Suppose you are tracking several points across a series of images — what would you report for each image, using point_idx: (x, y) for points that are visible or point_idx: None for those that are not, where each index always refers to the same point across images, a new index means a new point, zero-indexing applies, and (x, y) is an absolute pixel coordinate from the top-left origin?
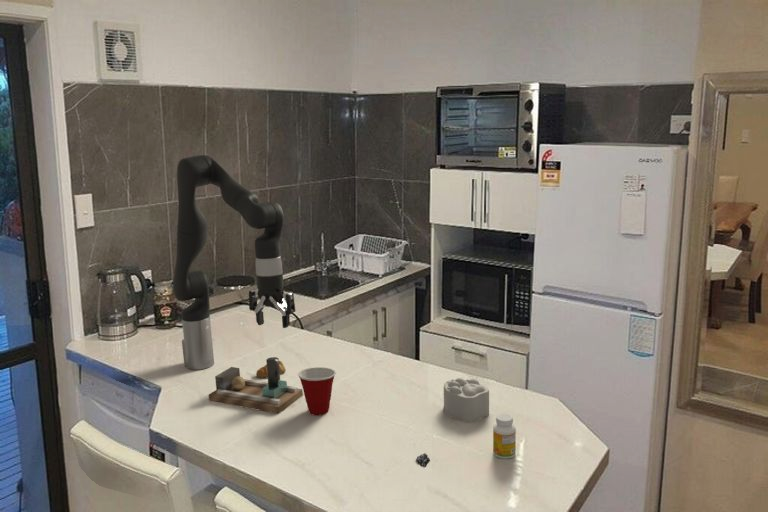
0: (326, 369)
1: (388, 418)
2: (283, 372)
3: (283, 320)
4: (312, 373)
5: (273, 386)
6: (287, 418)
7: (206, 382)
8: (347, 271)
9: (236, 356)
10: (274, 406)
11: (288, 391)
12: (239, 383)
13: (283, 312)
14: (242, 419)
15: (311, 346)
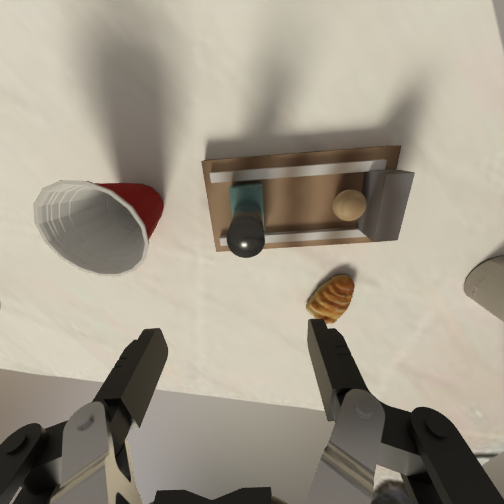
0: (110, 270)
1: (21, 229)
2: (307, 303)
3: (127, 366)
4: (141, 250)
5: (240, 203)
6: (173, 148)
7: (442, 220)
8: None
9: (431, 326)
10: (212, 160)
11: None
12: (340, 197)
13: (79, 435)
14: (259, 95)
15: None
